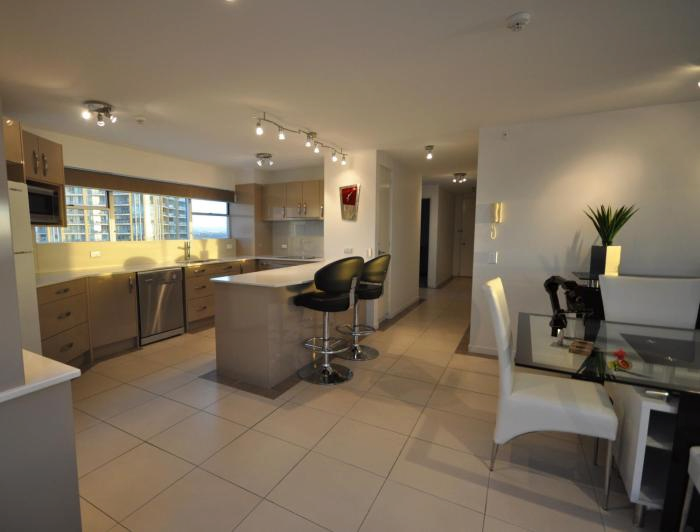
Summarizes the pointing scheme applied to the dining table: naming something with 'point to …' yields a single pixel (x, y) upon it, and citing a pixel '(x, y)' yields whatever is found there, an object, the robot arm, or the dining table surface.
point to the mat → (565, 346)
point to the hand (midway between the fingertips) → (575, 326)
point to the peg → (560, 337)
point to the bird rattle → (625, 362)
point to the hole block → (581, 347)
